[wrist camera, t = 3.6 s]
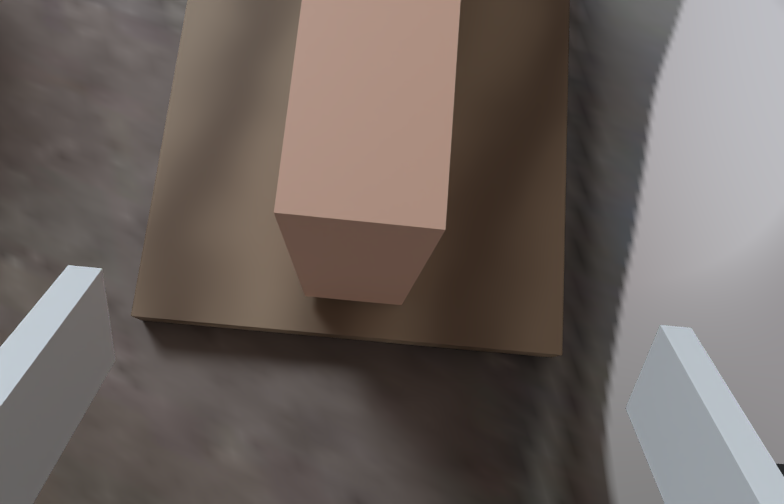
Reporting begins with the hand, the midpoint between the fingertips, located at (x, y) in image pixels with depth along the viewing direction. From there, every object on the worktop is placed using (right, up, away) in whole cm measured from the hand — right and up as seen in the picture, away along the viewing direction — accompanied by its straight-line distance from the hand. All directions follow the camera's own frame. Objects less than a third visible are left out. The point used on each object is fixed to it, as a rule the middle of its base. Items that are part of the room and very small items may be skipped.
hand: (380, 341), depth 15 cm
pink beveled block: (-1, +4, +12) cm, 13 cm away
